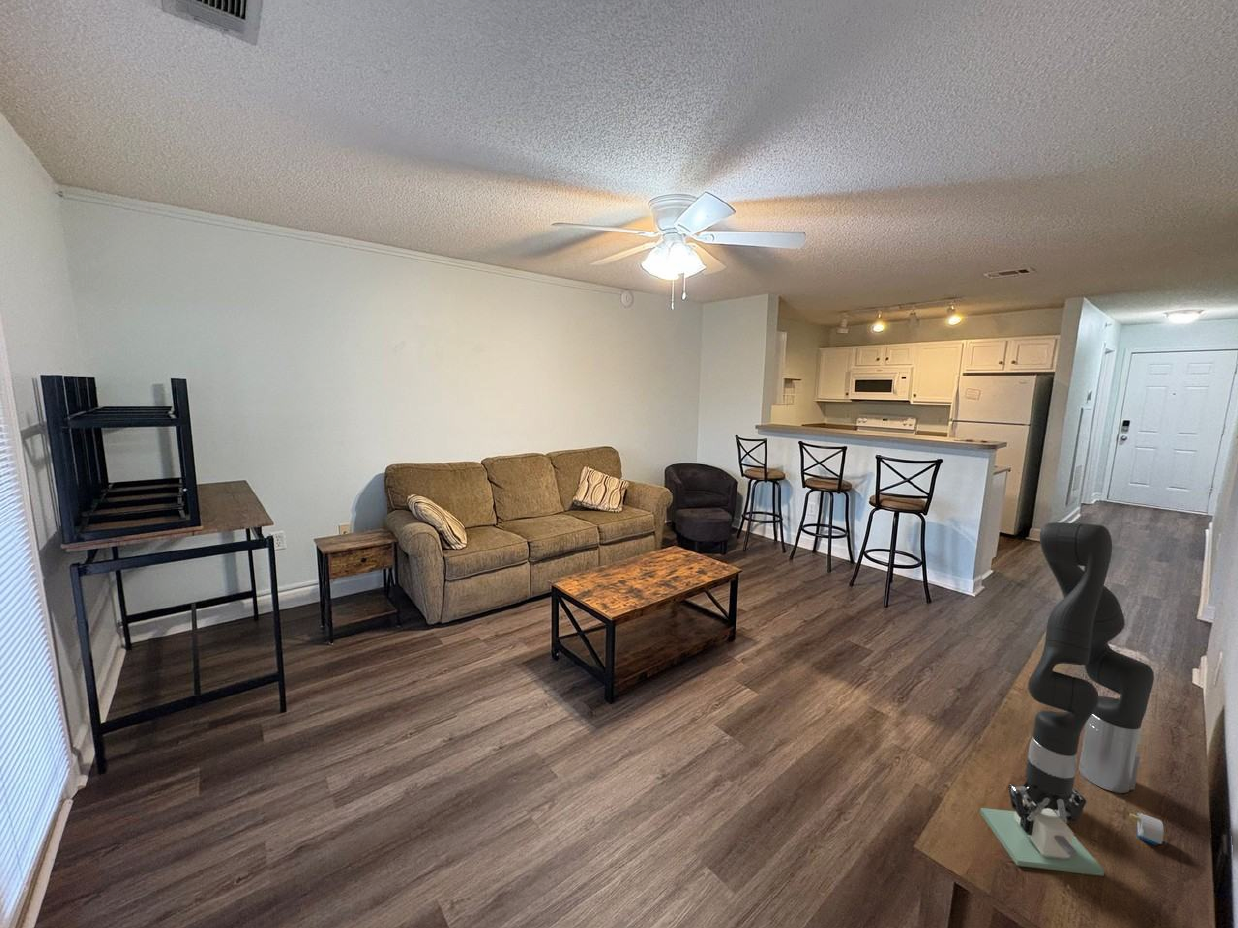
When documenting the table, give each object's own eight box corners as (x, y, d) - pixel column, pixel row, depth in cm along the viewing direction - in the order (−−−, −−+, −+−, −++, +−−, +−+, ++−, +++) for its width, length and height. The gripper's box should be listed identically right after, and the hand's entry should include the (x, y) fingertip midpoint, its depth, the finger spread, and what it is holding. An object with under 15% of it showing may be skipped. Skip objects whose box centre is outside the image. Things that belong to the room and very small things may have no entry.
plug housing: (1038, 820, 110) (1042, 796, 109) (1082, 874, 98) (1087, 848, 97) (1014, 817, 111) (1017, 794, 110) (1055, 871, 98) (1059, 845, 98)
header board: (1055, 820, 112) (1058, 801, 111) (1103, 875, 99) (1107, 855, 99) (979, 812, 114) (982, 794, 113) (1016, 865, 101) (1019, 845, 101)
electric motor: (1124, 819, 112) (1128, 800, 111) (1155, 831, 109) (1159, 812, 108) (1129, 841, 107) (1133, 821, 106) (1161, 854, 104) (1166, 833, 103)
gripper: (1075, 753, 106) (1064, 822, 109) (1002, 746, 108) (993, 814, 110) (1104, 780, 99) (1091, 853, 101) (1026, 773, 101) (1015, 845, 103)
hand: (1040, 832), depth 106 cm, fingers closed on plug housing, 5 cm apart
